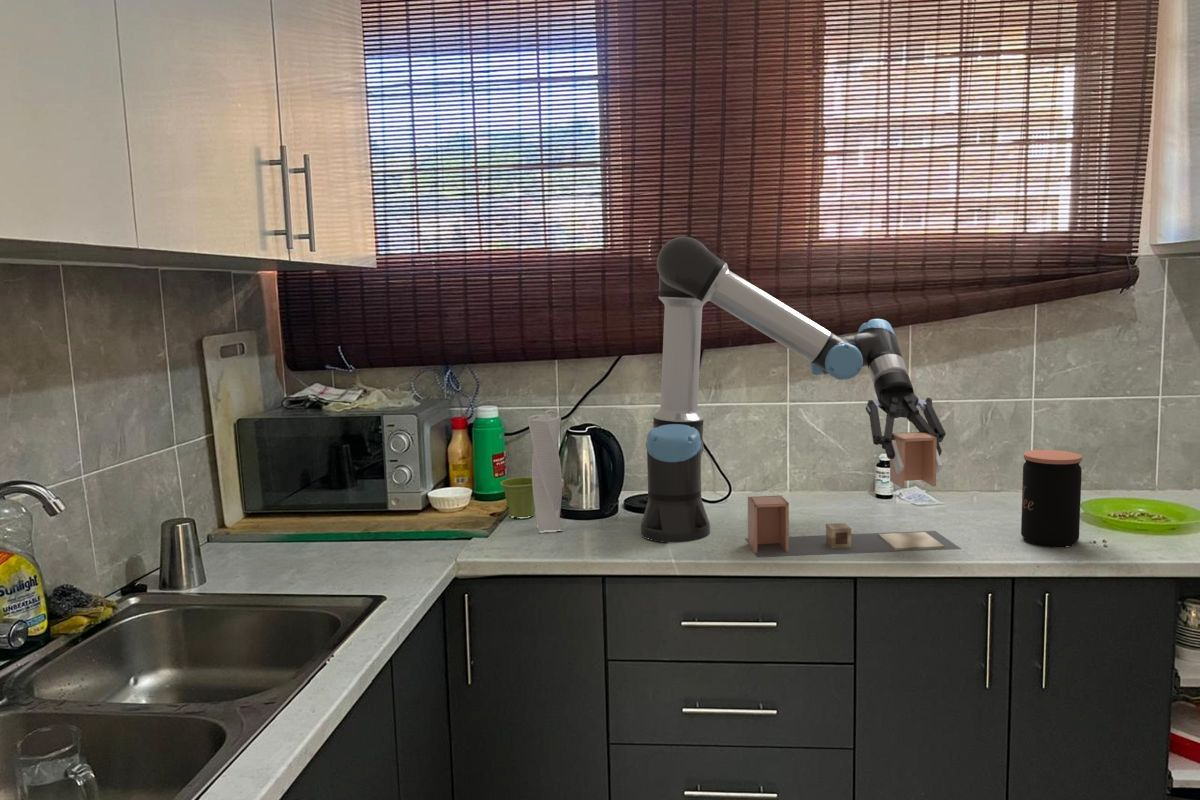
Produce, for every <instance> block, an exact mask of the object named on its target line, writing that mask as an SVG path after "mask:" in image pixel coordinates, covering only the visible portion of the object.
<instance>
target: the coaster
mask: <svg viewBox="0 0 1200 800" xmlns="http://www.w3.org/2000/svg"><path fill="white" fill-rule="evenodd" d="M914 532H915V533H892V532H889V533H890V534H878V536H879V537H880V538H881V539H883V540H884V541H885V542H886V543H887V544H889V545H890V546H891V547H892V548H893V549H895V550H905V549H929V548H944V547H945V546H944V545H942V544H941V543H940V542H938V541H937V540H935V539H934V538H933V537H931V536H930V535H928V534H927V533H925V532H917V531H914Z"/></svg>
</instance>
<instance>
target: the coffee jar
mask: <svg viewBox="0 0 1200 800" xmlns="http://www.w3.org/2000/svg"><path fill="white" fill-rule="evenodd" d="M1023 459H1024V461H1025V462H1024V463H1023V465H1022V484H1021V485H1022V488H1021V489H1022V490H1021V492H1022V493H1021V495H1022V496H1021V521H1020V522H1021V524H1020V535H1021V536H1022V538H1023V540H1024V541H1025V542H1026V541H1027V543H1029V544H1031V545H1036V546H1039V547H1044V546H1045V548H1053V547H1063V548H1067V547H1066V546H1070V547H1073V546H1074V544H1075V545H1076V543H1078V541H1079V539H1080V525H1081V521H1080V520H1081V519H1080V518H1081V502H1082V501H1081V498H1082V497H1081V496H1082V474H1083V472H1082V467H1081V465H1080V464H1081V462H1082V461H1083V456H1082V454H1079V453H1076V452H1071V451H1067V450H1058V449H1032V450H1028V451H1027V450H1026V451H1024V452H1023ZM1072 545H1073V546H1072Z"/></svg>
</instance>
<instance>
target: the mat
mask: <svg viewBox="0 0 1200 800" xmlns="http://www.w3.org/2000/svg"><path fill="white" fill-rule="evenodd" d="M915 532H925V533H927V534H928V535H930V536H931V537H933V538H934V539H935V540H937V541H938V542H940V543H941V544H942V545H944V546H945V547H944V548H929V549H905V550H895V549H893V548H892V547H891V546H890V545H889V544H887V543H886V542H885V541H884V540H883V539H881V538H880V537H879V536H878V534H890V533H915ZM744 541H746V543H747V544H748V537H746V538H744ZM943 550H945V551H948V550H962V548H961V547H959V546H958V545H956V544H955V543H954V542H952V541H951V540H949V539H948V538H947V537H945V536H944V535H942V534H940V533H939V532H938V531H936V530H921V531H918V530H917V531H895V532H894V531H893V532H873V533H872V532H871V533H867V532H866V533H851V547H849V548H831V547H830V546H829V545H828V544H827V543H826V534H823V535H796V536H789V552H786V551H785V550H784V549H783V547H782V546H781V545H780V543H771V544H757V553H754V555H755V556H756V557H757V558H772V557H773V558H774V557H778V558H779V557H799V556H800V557H801V556H803V557H804V556H821V555H822V556H823V555H827V556H828V555H845V554H846V555H851V554H869V553H871V554H874V553H896V552H918V551H919V552H920V551H923V552H925V551H943Z"/></svg>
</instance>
